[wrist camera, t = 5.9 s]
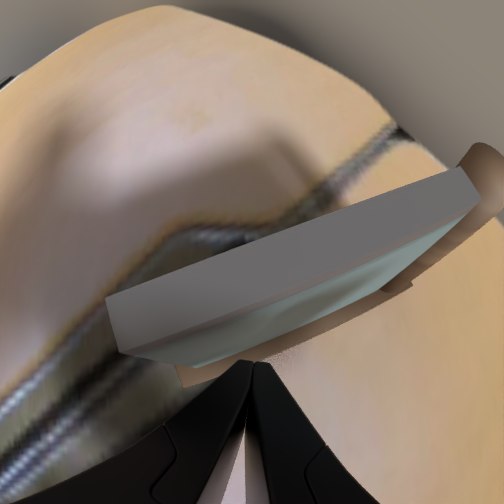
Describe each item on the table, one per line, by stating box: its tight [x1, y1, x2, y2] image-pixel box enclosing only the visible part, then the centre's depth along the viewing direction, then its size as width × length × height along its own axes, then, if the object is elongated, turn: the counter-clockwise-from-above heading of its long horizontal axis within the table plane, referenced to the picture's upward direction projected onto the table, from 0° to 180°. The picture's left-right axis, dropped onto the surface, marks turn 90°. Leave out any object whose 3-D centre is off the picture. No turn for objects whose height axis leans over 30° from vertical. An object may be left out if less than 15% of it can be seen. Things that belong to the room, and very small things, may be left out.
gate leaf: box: [105, 166, 482, 368], centre depth 11 cm, size 1×10×9 cm, turn 112°
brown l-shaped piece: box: [174, 143, 504, 388], centre depth 11 cm, size 3×14×11 cm, turn 112°
